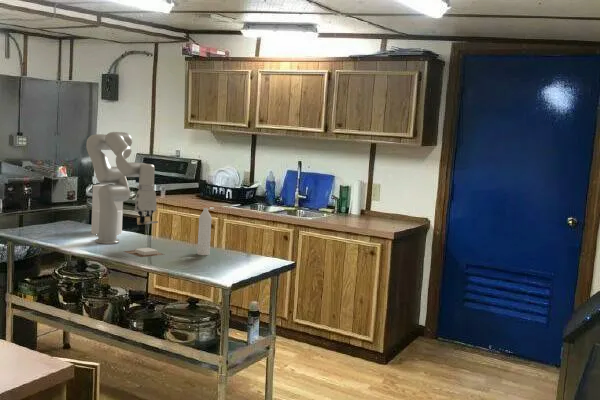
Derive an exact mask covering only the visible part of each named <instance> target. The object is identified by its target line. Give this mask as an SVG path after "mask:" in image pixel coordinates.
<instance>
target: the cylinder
mask: <svg viewBox="0 0 600 400" xmlns="http://www.w3.org/2000/svg"><path fill="white" fill-rule="evenodd" d="M104 185H106V184H101V183H99V184H94V185H93V184H92V197H91V198H92V199H91V200H92V202H91V207H92V208H91V228H90V229H91V230H90V231H91V232H90V233H91V234H92V235H95V234H98V233H99V211H100V205H99V197H98V191H99V189H100V187H102V186H104ZM114 204H115V205H116V207H117V211H118V214H117V236H120V235H122V234H123V215H124V214H123V210H124V201H123V202H114ZM121 233H122V234H121ZM119 234H120V235H119Z"/></svg>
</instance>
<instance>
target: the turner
mask: <svg viewBox="0 0 600 400" xmlns="http://www.w3.org/2000/svg"><path fill="white" fill-rule="evenodd" d="M136 223H137V225H138V226H139V225H140V226H141V225H142V224H141V223H140V216H139V217H136ZM158 223H159V222H158V221H152V220H151V216H150V217H145V221H144V224H143V225H148V224H150V225H151V224H158Z"/></svg>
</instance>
